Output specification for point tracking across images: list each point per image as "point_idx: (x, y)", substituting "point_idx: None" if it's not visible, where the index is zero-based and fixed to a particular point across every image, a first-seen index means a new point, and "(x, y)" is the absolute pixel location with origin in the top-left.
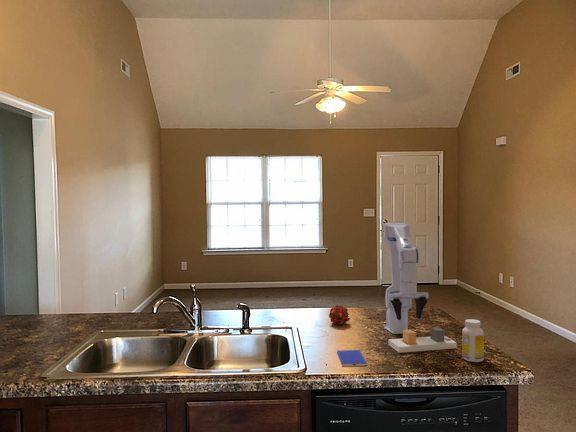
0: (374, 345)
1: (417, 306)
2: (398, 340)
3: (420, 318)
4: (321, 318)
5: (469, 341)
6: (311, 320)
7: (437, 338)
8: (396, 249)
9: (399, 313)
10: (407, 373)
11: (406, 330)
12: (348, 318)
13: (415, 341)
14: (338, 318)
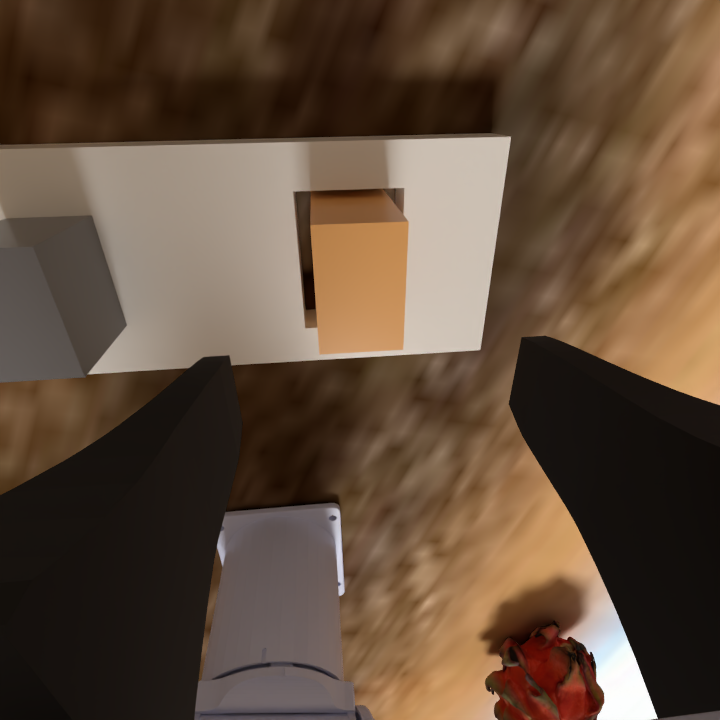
0: (561, 335)
1: (194, 554)
2: (419, 315)
3: (203, 357)
4: None
5: None
6: (609, 673)
7: (66, 225)
8: None
9: (617, 373)
10: None
11: (377, 326)
12: (513, 661)
13: (318, 205)
14: (582, 654)
